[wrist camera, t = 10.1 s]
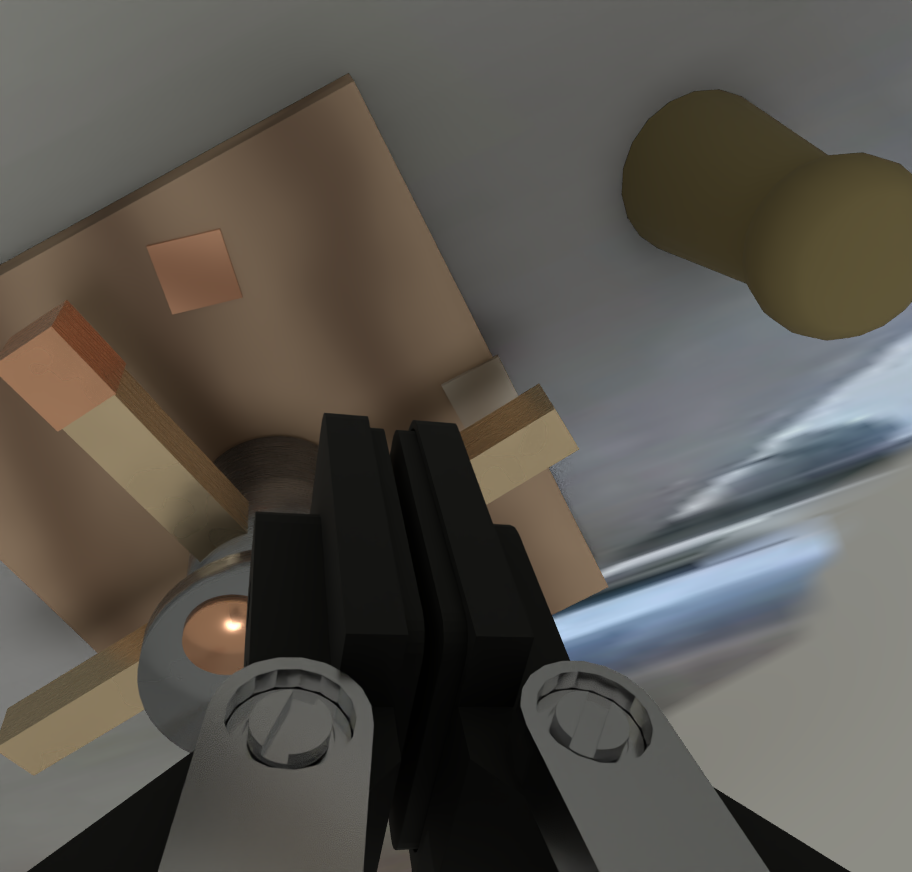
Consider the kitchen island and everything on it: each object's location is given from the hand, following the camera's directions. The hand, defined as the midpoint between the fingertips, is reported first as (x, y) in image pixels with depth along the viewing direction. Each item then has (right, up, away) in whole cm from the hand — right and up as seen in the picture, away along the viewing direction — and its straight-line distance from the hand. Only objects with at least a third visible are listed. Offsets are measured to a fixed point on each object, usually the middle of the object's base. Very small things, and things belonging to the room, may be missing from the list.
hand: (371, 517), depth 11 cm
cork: (+10, +11, +21) cm, 26 cm away
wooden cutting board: (-6, -1, +24) cm, 25 cm away
